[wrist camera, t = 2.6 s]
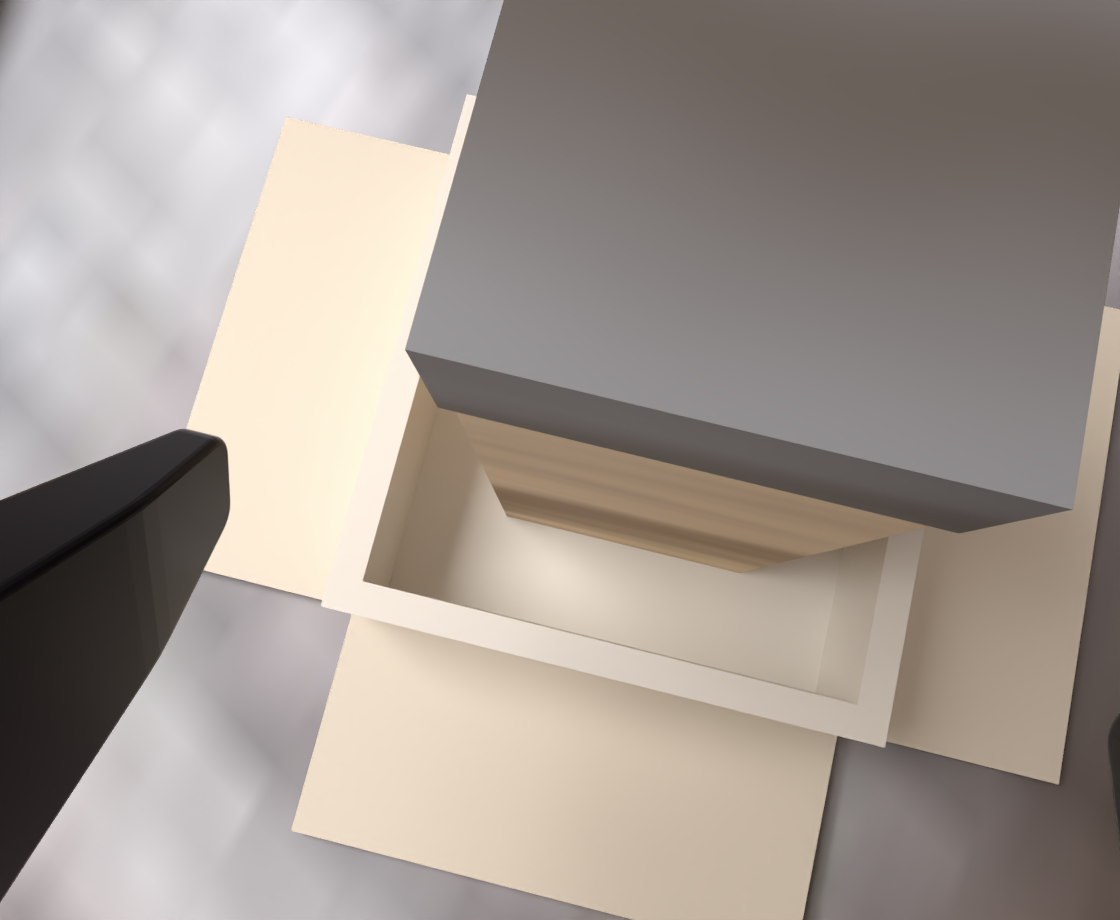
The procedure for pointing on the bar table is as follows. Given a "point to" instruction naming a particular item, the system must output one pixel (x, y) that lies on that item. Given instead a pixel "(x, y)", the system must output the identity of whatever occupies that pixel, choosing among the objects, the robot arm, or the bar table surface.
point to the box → (779, 267)
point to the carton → (585, 601)
